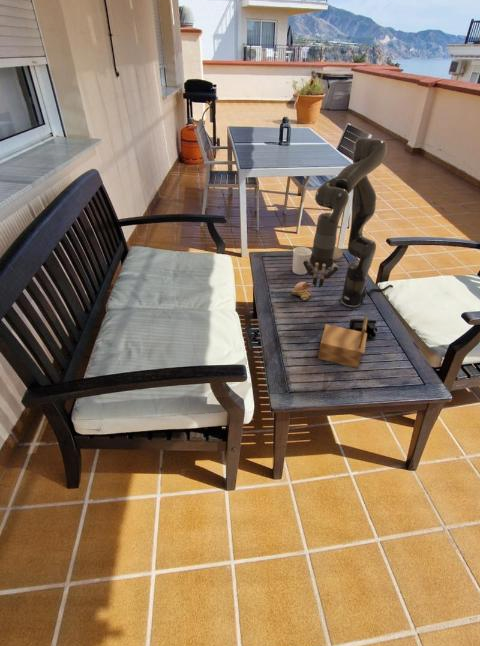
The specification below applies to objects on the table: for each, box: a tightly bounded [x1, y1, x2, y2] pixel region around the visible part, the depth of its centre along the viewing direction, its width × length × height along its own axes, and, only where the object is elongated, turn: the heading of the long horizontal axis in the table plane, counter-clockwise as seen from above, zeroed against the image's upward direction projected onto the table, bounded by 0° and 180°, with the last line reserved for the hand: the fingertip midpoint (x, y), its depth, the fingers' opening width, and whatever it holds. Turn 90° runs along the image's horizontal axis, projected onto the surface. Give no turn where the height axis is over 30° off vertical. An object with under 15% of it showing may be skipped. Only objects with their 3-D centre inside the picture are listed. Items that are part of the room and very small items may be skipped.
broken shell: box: [290, 281, 313, 301], centre depth 187 cm, size 9×10×10 cm
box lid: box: [320, 316, 369, 355], centre depth 149 cm, size 16×13×10 cm
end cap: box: [349, 318, 378, 340], centre depth 165 cm, size 10×7×7 cm
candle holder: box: [291, 246, 312, 276], centre depth 206 cm, size 10×10×12 cm
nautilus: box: [310, 246, 344, 262], centre depth 219 cm, size 8×22×15 cm
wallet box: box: [317, 343, 363, 369], centre depth 154 cm, size 16×13×7 cm
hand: (317, 285), depth 146 cm, fingers closed
